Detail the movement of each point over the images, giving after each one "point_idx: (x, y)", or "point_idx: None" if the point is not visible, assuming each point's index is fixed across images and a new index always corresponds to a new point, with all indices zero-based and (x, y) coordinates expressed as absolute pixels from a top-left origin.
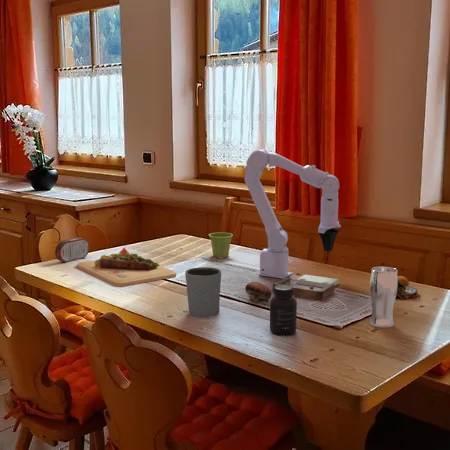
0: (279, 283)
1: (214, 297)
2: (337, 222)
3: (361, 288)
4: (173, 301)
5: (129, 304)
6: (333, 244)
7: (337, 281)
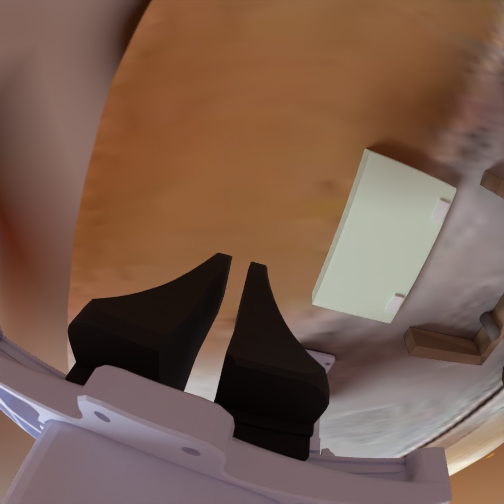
0: (474, 354)
1: None
2: (95, 478)
3: (412, 47)
4: (481, 437)
5: (477, 456)
6: (201, 268)
7: (380, 154)
